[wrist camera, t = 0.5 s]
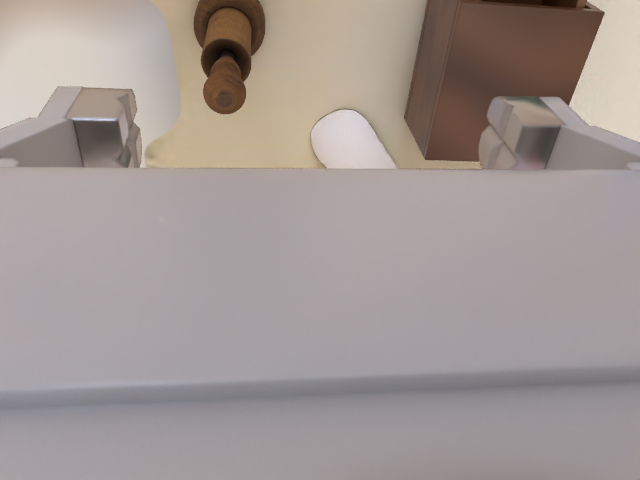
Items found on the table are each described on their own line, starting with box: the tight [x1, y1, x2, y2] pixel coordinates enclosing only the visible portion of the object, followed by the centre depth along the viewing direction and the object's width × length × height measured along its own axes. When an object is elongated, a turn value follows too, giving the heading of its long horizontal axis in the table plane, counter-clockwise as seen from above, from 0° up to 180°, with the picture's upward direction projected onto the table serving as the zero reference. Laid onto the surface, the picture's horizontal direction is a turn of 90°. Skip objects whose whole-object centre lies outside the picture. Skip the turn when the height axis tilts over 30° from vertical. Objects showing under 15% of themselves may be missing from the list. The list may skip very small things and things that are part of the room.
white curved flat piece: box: [311, 110, 398, 169], centre depth 63 cm, size 7×12×2 cm, turn 33°
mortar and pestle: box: [194, 0, 265, 114], centre depth 46 cm, size 7×6×18 cm
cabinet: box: [404, 0, 605, 161], centre depth 54 cm, size 15×13×9 cm
